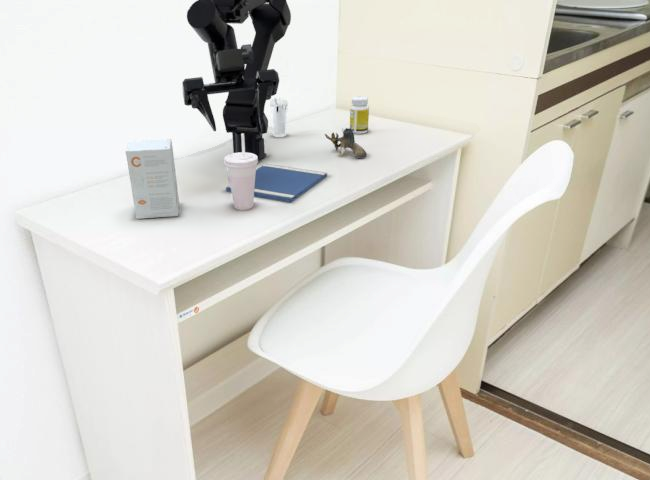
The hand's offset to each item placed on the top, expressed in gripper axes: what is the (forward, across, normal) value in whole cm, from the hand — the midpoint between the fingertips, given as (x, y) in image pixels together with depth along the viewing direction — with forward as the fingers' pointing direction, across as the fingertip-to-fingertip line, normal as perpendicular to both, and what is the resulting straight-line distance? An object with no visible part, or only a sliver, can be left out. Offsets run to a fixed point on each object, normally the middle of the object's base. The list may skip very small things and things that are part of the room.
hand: (238, 127), depth 126 cm
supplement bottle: (-12, +36, +36) cm, 52 cm away
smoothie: (+15, -2, +2) cm, 16 cm away
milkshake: (-14, +16, +37) cm, 42 cm away
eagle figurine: (0, +28, +22) cm, 36 cm away
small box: (+14, -18, +3) cm, 23 cm away
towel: (+8, +8, +10) cm, 15 cm away
